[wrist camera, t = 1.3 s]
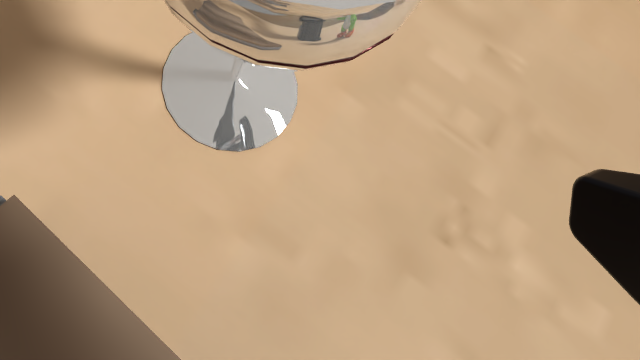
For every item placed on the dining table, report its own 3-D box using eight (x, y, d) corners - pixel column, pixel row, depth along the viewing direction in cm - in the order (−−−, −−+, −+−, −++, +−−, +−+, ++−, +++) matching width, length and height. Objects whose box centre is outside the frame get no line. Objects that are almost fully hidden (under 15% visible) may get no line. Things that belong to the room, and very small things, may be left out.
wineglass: (104, 32, 22) (58, -287, 10) (275, -19, 24) (387, -326, 13) (182, 205, 21) (220, 63, 10) (350, 136, 23) (538, -44, 12)
